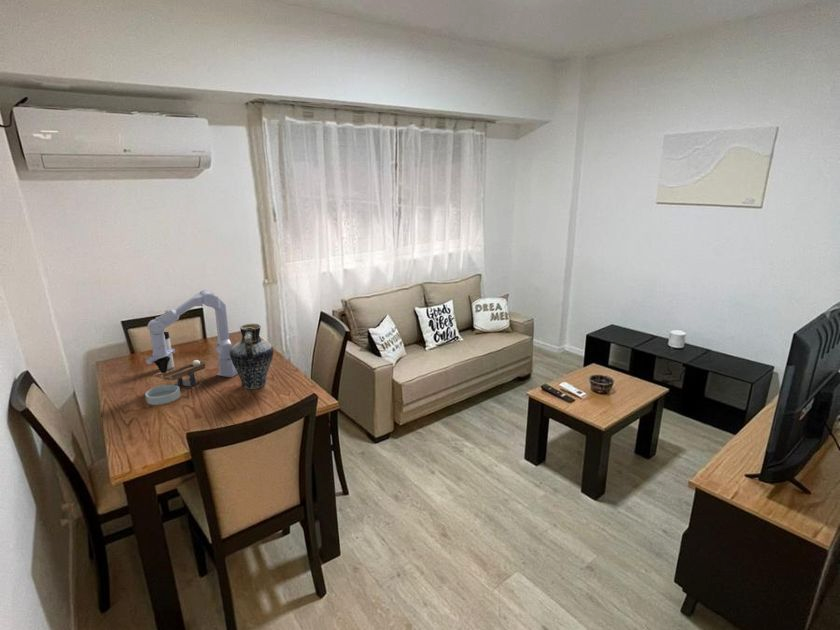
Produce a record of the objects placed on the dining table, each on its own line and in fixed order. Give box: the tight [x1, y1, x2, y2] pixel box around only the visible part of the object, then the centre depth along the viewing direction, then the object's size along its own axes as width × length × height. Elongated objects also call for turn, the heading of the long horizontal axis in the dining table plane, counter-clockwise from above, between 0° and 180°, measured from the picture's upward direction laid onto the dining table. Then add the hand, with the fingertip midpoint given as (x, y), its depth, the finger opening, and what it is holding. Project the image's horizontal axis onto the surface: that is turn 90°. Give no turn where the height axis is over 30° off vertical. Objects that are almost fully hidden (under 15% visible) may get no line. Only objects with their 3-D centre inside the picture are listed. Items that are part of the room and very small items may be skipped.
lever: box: [153, 359, 206, 381], centre depth 216 cm, size 12×20×4 cm, turn 164°
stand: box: [173, 371, 200, 389], centre depth 216 cm, size 10×5×7 cm, turn 74°
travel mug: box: [164, 331, 175, 371], centre depth 232 cm, size 6×7×20 cm
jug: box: [230, 323, 274, 390], centre depth 212 cm, size 21×19×30 cm
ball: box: [192, 359, 201, 367], centre depth 221 cm, size 4×4×4 cm
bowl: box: [144, 383, 182, 406], centre depth 203 cm, size 13×13×4 cm
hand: (163, 372), depth 210 cm, fingers closed
